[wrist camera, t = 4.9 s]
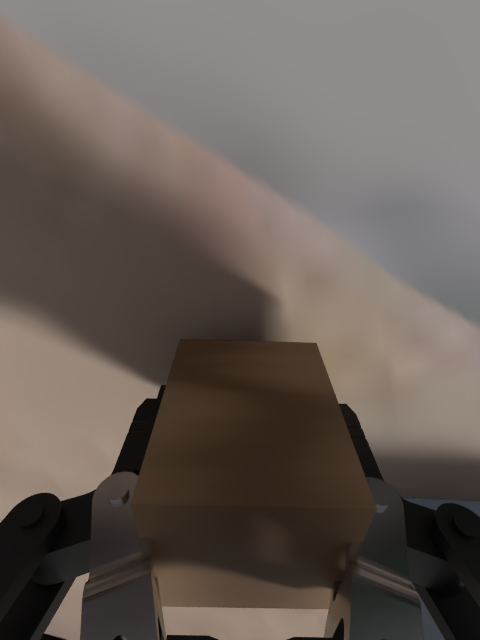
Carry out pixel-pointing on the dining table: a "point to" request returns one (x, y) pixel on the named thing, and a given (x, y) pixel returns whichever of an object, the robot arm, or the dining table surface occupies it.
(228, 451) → the walnut block
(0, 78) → the dining table surface
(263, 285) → the dining table surface
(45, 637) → the power drill
